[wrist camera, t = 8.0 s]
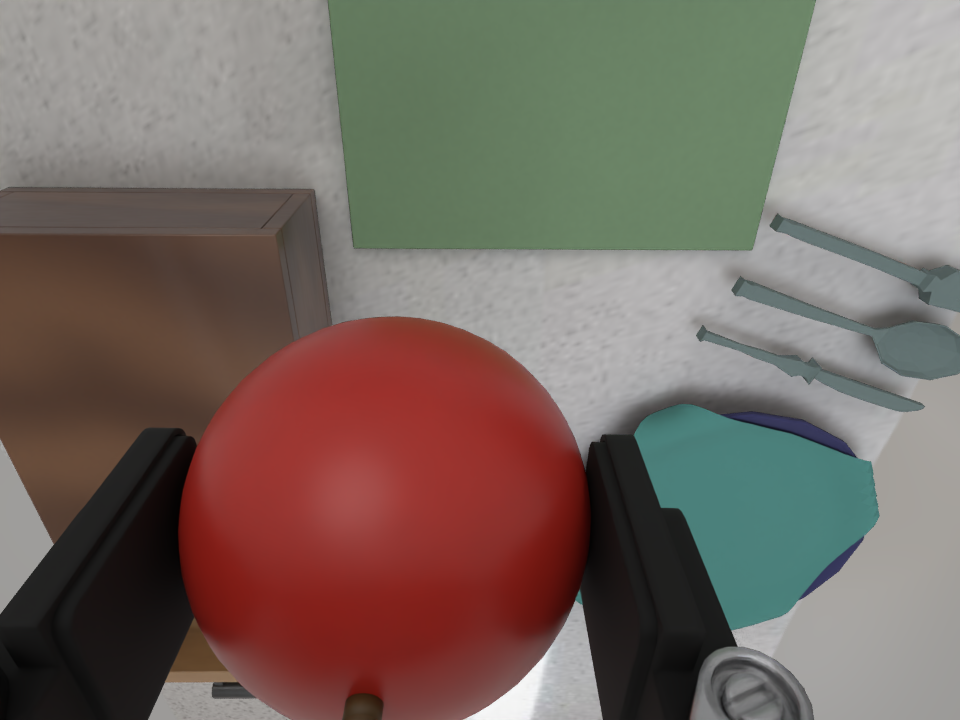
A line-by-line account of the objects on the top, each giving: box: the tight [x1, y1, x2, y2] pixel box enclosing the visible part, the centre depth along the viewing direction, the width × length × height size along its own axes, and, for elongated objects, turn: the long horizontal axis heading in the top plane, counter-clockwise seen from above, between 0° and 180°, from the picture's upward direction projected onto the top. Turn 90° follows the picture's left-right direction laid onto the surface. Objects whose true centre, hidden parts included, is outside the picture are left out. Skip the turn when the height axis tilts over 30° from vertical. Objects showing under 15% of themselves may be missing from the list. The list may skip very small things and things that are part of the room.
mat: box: [328, 0, 816, 250], centre depth 25 cm, size 20×20×1 cm
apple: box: [178, 316, 591, 720], centre depth 11 cm, size 7×7×8 cm
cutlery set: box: [575, 213, 960, 630], centre depth 37 cm, size 20×30×2 cm, turn 160°
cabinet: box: [0, 187, 332, 544], centre depth 31 cm, size 18×15×7 cm
